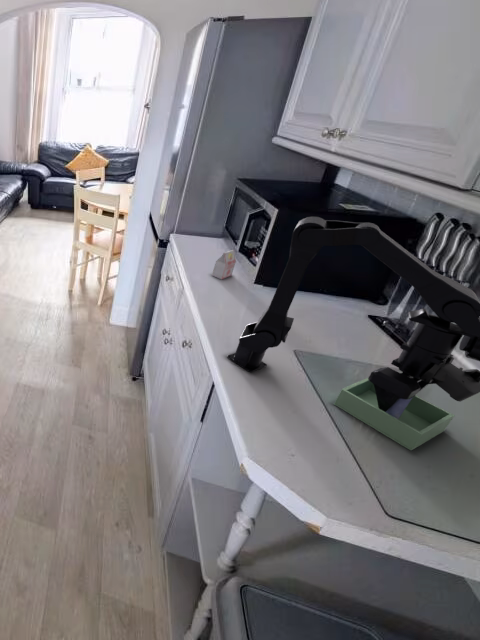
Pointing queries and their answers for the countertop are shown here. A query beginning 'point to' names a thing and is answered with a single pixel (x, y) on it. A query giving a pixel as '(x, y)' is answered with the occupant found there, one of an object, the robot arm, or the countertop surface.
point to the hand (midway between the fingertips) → (393, 404)
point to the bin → (408, 430)
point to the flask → (398, 408)
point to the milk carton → (224, 265)
